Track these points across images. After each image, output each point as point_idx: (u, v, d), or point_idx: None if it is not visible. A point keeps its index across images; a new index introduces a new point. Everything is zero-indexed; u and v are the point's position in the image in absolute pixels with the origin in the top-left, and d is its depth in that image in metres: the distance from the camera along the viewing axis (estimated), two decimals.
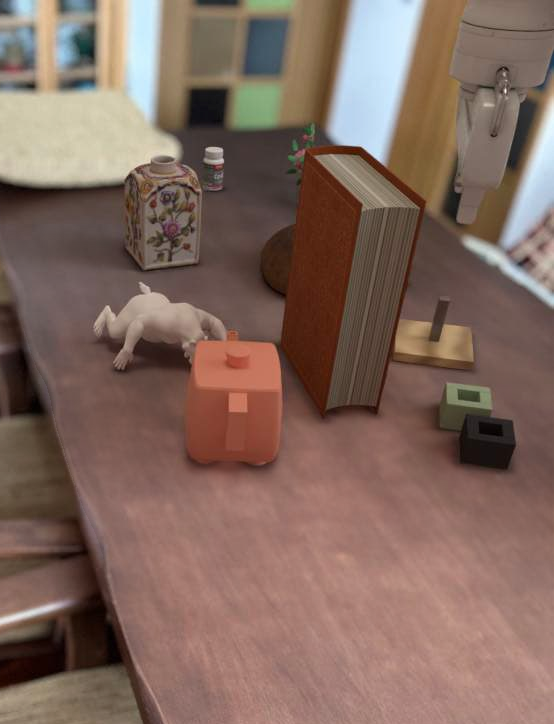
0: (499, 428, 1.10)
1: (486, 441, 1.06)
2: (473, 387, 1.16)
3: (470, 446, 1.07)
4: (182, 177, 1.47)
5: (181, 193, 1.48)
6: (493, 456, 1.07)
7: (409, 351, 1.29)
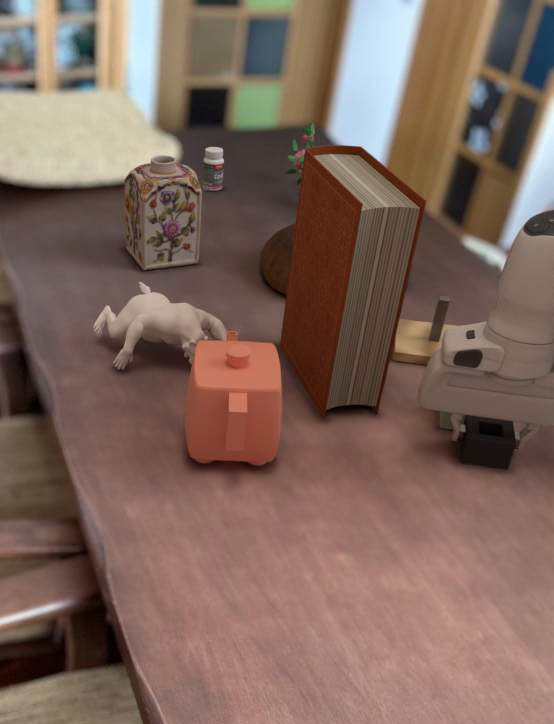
0: (499, 428, 1.09)
1: (486, 441, 1.06)
2: None
3: (470, 446, 1.07)
4: (182, 177, 1.47)
5: (181, 193, 1.48)
6: (493, 456, 1.07)
7: (409, 351, 1.29)
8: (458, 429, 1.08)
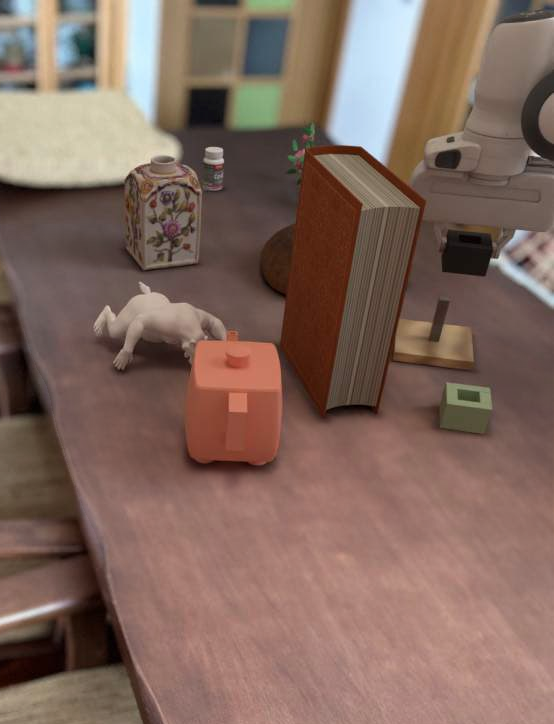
0: (478, 240, 1.18)
1: (466, 247, 1.15)
2: (473, 387, 1.16)
3: (451, 253, 1.16)
4: (182, 177, 1.47)
5: (181, 193, 1.48)
6: (472, 263, 1.16)
7: (409, 351, 1.29)
8: (440, 239, 1.17)
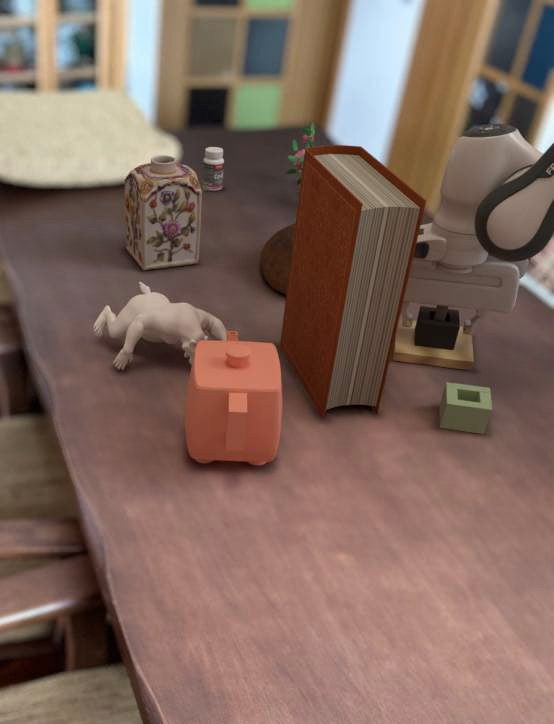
0: (447, 316, 1.31)
1: (435, 324, 1.28)
2: (473, 387, 1.16)
3: (422, 330, 1.29)
4: (182, 177, 1.47)
5: (181, 193, 1.48)
6: (441, 338, 1.29)
7: (409, 351, 1.29)
8: (406, 316, 1.30)
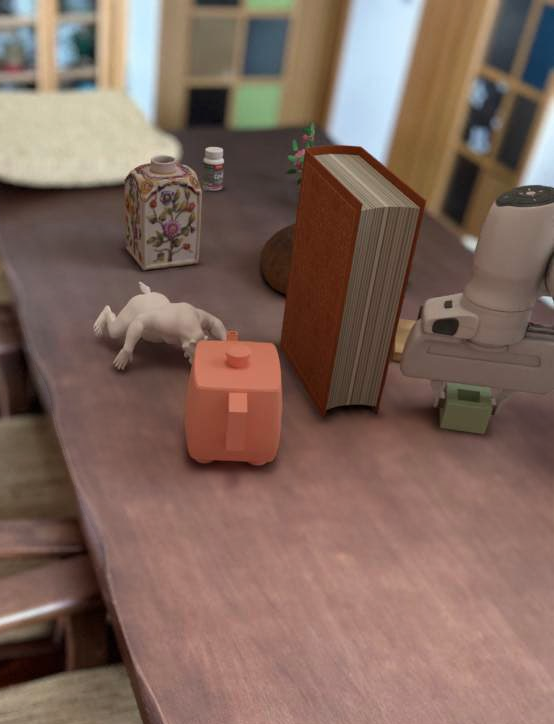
0: None
1: None
2: (473, 387, 1.16)
3: None
4: (182, 177, 1.47)
5: (181, 193, 1.48)
6: None
7: None
8: (438, 396, 1.15)
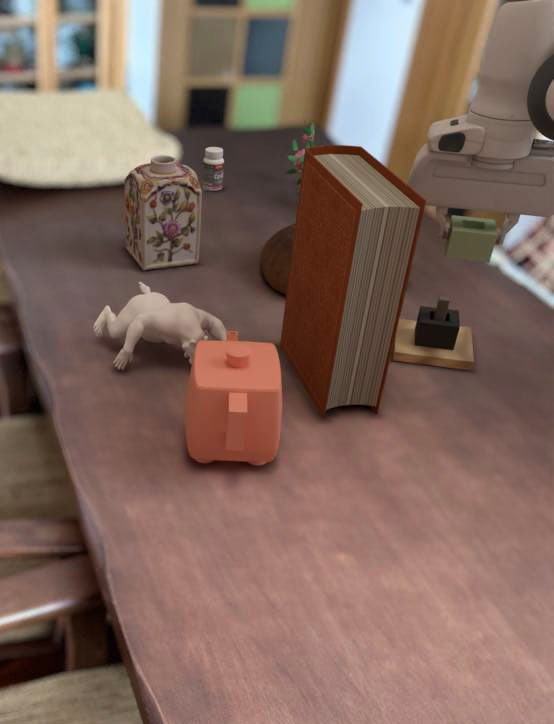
0: (447, 316, 1.31)
1: (435, 324, 1.28)
2: (478, 219, 1.17)
3: (422, 330, 1.29)
4: (182, 177, 1.47)
5: (181, 193, 1.48)
6: (441, 338, 1.29)
7: (409, 351, 1.29)
8: (443, 225, 1.16)
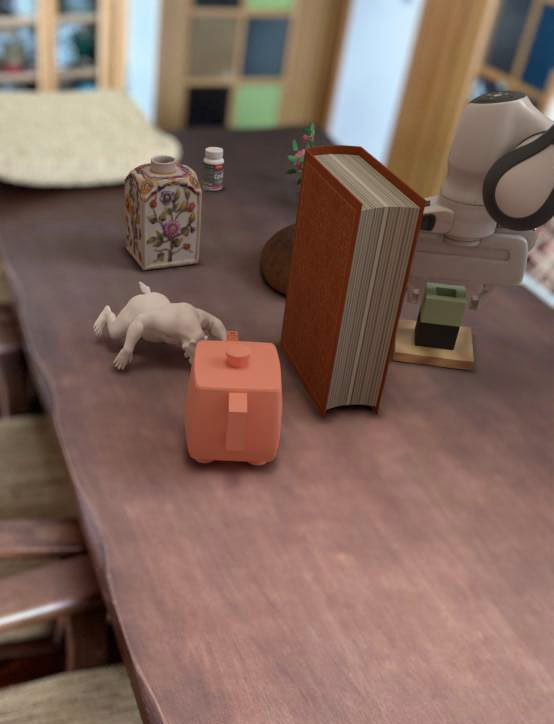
0: None
1: (435, 324, 1.28)
2: (450, 286, 1.29)
3: (422, 330, 1.29)
4: (182, 177, 1.47)
5: (181, 193, 1.48)
6: (441, 338, 1.29)
7: (409, 351, 1.29)
8: (411, 291, 1.27)
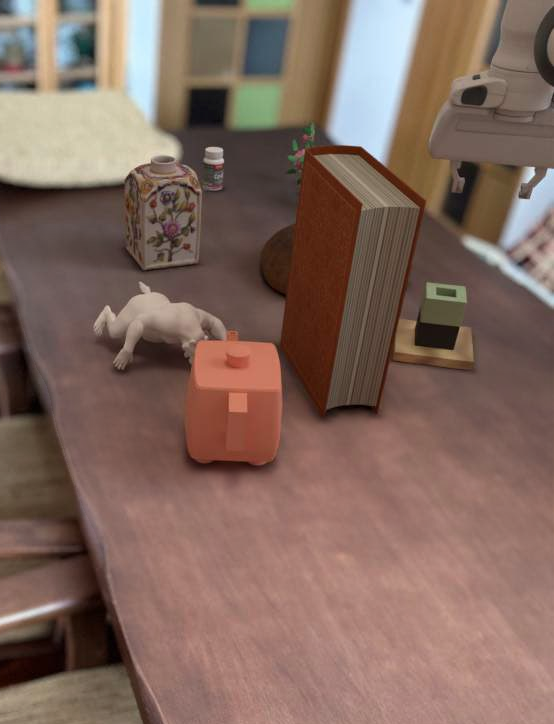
0: None
1: (435, 324, 1.28)
2: (450, 286, 1.29)
3: (422, 330, 1.29)
4: (182, 177, 1.47)
5: (181, 193, 1.48)
6: (441, 338, 1.29)
7: (409, 351, 1.29)
8: (457, 179, 1.19)
